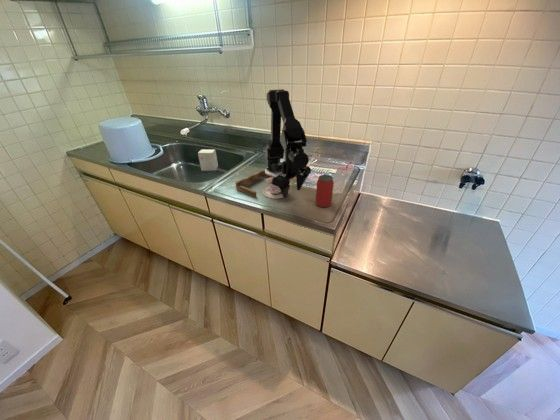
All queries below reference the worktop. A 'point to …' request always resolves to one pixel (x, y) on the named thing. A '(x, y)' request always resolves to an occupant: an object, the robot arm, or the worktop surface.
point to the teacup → (272, 190)
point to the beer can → (324, 190)
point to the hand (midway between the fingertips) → (291, 193)
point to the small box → (208, 160)
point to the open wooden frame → (250, 182)
